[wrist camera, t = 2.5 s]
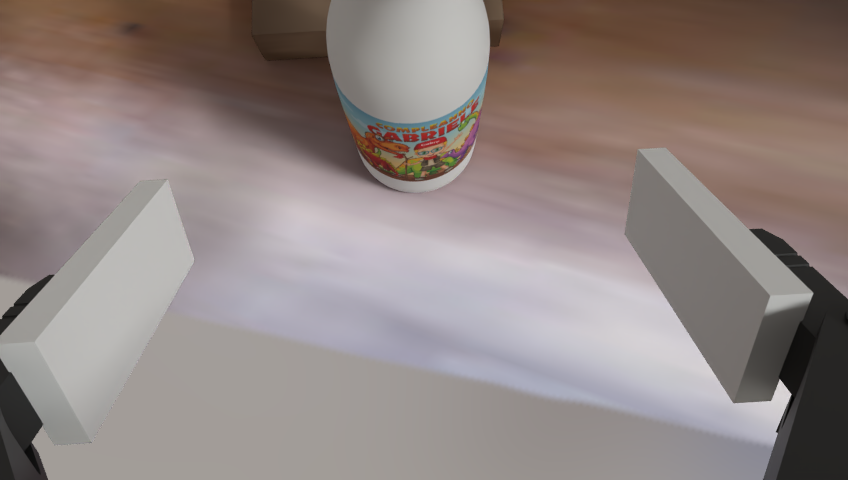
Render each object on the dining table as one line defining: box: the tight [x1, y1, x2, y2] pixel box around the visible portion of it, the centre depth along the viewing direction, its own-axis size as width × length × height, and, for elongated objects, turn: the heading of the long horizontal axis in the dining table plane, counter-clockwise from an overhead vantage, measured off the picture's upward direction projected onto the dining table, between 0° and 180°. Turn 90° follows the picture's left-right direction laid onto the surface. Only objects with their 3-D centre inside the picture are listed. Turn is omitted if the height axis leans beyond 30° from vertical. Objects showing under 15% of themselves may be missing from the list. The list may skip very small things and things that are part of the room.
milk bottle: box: [326, 0, 490, 193], centre depth 27 cm, size 8×8×20 cm
